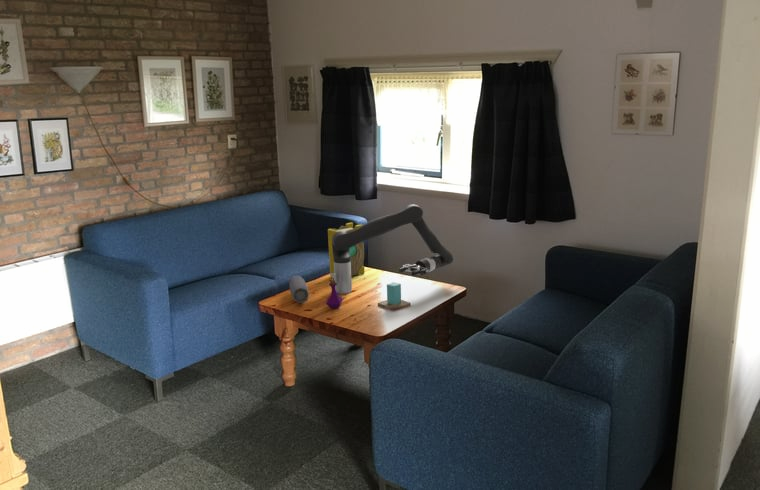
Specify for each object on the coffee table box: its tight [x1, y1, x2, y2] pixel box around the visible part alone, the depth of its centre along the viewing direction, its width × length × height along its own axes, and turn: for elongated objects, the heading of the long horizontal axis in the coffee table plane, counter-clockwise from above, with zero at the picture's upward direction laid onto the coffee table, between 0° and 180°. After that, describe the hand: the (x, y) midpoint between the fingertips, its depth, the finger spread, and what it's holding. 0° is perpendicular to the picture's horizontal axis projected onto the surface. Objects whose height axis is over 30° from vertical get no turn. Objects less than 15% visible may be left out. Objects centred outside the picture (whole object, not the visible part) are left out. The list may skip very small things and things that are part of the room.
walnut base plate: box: [377, 299, 412, 312], centre depth 334 cm, size 12×12×8 cm
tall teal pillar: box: [386, 281, 402, 305], centre depth 334 cm, size 5×5×10 cm
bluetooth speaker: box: [288, 275, 310, 304], centre depth 350 cm, size 23×9×10 cm, turn 12°
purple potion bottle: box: [325, 273, 344, 310], centre depth 334 cm, size 8×8×18 cm
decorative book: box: [327, 222, 365, 278], centre depth 386 cm, size 20×11×30 cm, turn 131°
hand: (405, 272), depth 340 cm, fingers open, 8 cm apart
